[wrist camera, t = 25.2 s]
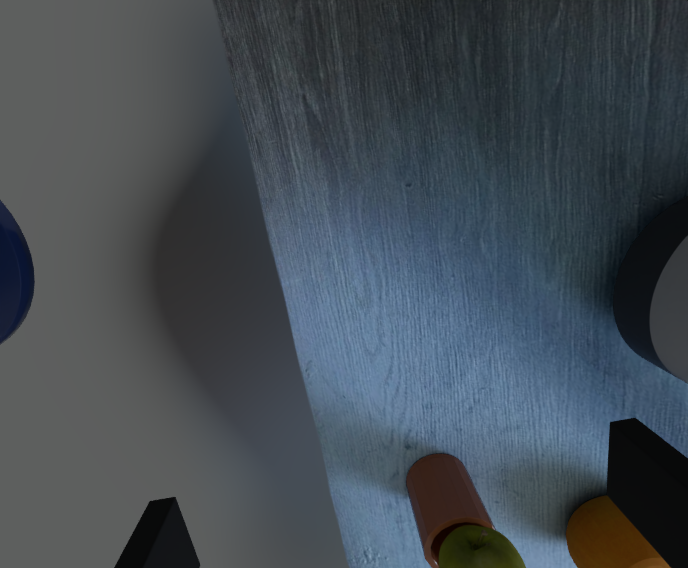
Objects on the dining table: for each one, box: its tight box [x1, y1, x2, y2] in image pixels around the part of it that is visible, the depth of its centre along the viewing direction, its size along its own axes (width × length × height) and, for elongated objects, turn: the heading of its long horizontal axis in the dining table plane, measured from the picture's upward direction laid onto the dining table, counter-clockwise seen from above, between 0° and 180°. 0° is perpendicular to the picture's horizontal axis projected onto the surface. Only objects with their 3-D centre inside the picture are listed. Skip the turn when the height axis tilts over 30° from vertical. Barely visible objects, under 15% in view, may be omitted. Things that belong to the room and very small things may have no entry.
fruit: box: [566, 495, 671, 568], centre depth 45 cm, size 12×12×10 cm
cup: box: [406, 454, 496, 568], centre depth 43 cm, size 8×8×9 cm
